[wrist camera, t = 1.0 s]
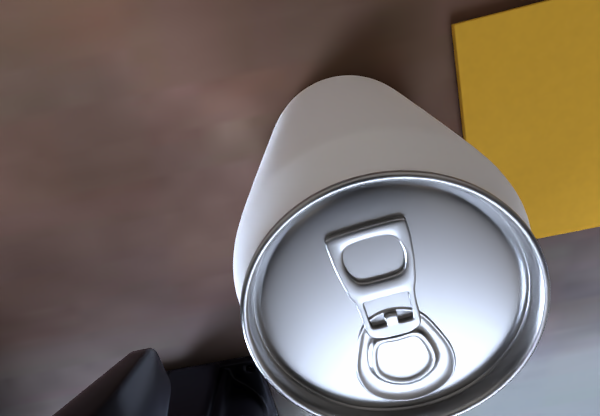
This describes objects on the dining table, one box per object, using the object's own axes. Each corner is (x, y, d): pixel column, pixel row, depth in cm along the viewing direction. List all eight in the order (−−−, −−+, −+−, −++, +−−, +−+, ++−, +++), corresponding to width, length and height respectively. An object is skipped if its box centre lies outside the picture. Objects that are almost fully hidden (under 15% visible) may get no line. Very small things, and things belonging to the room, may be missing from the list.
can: (298, 234, 21) (283, 472, 10) (249, 102, 18) (156, 212, 7) (434, 195, 20) (592, 408, 9) (401, 51, 18) (557, 88, 6)
